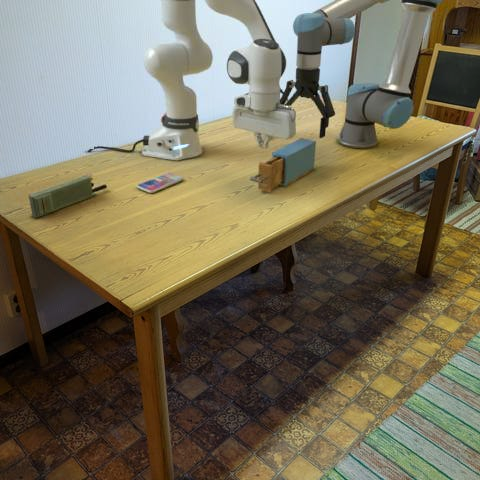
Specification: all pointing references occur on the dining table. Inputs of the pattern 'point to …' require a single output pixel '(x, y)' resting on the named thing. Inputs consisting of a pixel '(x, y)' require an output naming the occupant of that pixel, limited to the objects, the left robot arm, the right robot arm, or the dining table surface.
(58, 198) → the handheld radio
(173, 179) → the smartphone
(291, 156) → the tall blue open box
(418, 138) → the dining table surface
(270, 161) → the drawer
